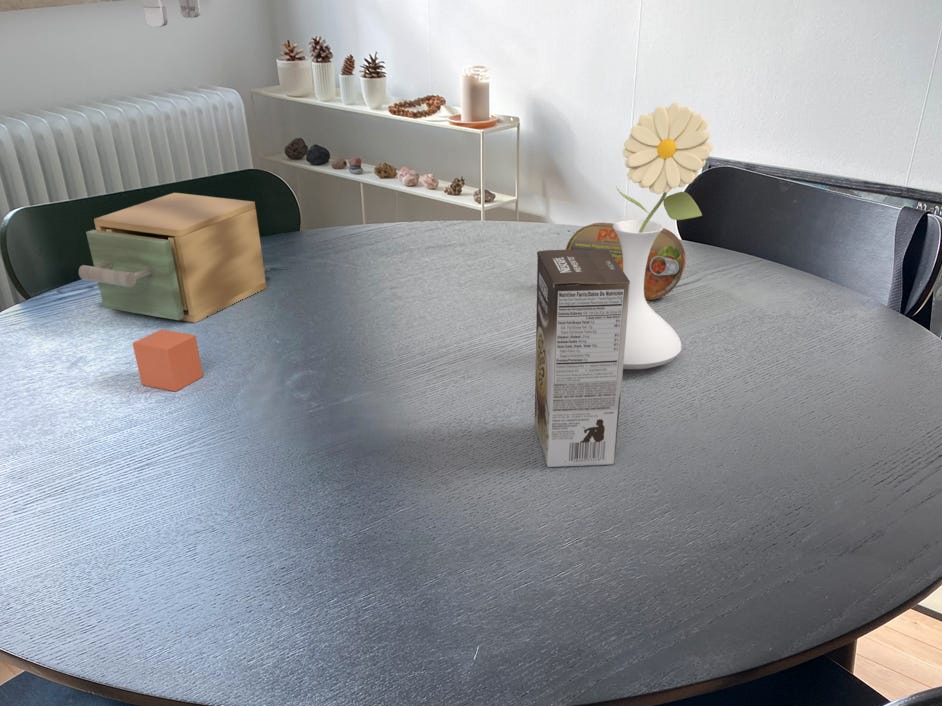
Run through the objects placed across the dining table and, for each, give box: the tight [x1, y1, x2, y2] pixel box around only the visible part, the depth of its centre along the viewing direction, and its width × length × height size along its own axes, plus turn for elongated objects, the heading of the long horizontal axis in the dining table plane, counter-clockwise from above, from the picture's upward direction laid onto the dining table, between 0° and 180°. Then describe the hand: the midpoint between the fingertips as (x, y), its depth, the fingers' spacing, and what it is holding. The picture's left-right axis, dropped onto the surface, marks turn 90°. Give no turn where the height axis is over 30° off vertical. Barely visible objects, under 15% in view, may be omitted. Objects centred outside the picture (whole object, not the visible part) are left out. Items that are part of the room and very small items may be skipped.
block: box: [132, 328, 204, 393], centre depth 102 cm, size 4×4×4 cm
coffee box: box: [534, 248, 630, 468], centre depth 85 cm, size 9×6×16 cm
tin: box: [565, 222, 686, 301], centre depth 122 cm, size 15×3×8 cm, turn 68°
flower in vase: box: [613, 102, 713, 370], centre depth 99 cm, size 13×11×25 cm
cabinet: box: [93, 192, 267, 323], centre depth 122 cm, size 15×13×11 cm
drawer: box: [78, 228, 188, 321], centre depth 118 cm, size 18×11×9 cm, turn 155°
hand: (175, 21), depth 108 cm, fingers open, 8 cm apart
